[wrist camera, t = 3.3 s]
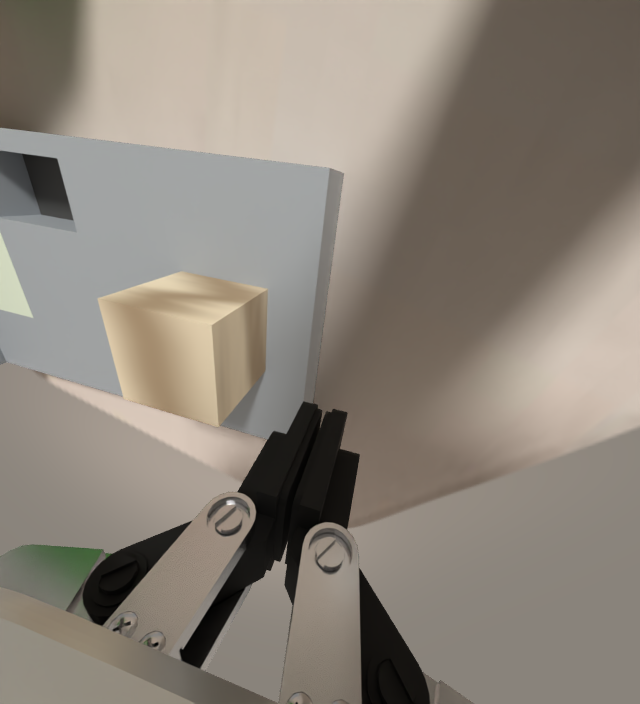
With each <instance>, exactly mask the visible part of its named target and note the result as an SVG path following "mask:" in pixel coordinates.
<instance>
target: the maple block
mask: <svg viewBox="0 0 640 704" xmlns="http://www.w3.org/2000/svg"><path fill="white" fill-rule="evenodd" d="M97 299H98V303H99V307H100V311H101V314H102V318H103V322H104V326H105V329H106V333H107V337H108V341H109V345H110V348H111V352H112V356H113V360H114V364H115V367H116V371H117V375H118V379H119V382H120V386H121V390H122V394H123V398H124V399H125V400H129V401H132V402H136V403H139V404H142V405H146V406H149V407H152V408H156V409H159V410H162V411H166V412H169V413H172V414H176V415H179V416H182V417H186V418H189V419H193V420H196V421H199V422H203V423H206V424H209V425H213V426H216V427H219V426H220V425H221V424H222V423H223V422H224V420H225V419H226V418H227V417H228V416H229V414H230V413H231V412H232V411H233V409H234V408H235V407H236V406H237V405H238V403H239V402H240V401H241V400H242V399H243V397H244V396H245V395H246V394H247V393H248V391H249V390H250V389H251V388H252V387H253V385H254V384H255V383H256V382H257V381H258V379H259V378H260V377H261V376H262V374H263V373H264V372H265V369H266V337H267V304H268V289H266V288H262V287H257V286H252V285H247V284H242V283H237V282H232V281H227V280H222V279H217V278H212V277H207V276H202V275H197V274H192V273H187V272H183V271H181V272H178V273H175V274H172V275H168V276H165V277H162V278H159V279H156V280H153V281H150V282H147V283H144V284H141V285H138V286H134V287H131V288H128V289H125V290H122V291H119V292H116V293H113V294H110V295H107V296H104V297H100V298H97Z"/></svg>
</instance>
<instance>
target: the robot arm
mask: <svg viewBox="0 0 640 704" xmlns="http://www.w3.org/2000/svg"><path fill="white" fill-rule="evenodd" d="M321 417H322V410H320V409H318V405H316V404H312V403H309V402H305V401H303V403H302V404H301V406H300V408H299V410H298V412H297V414H296V416H295V418H294V420H293V422H292V424H291V426H290V428H289V430H288V432H287V434H285V433H281V432H277V431H273V432H272V434H271V435H270V437H269V438H268V440H267V442H266V444H265V445H264V447H263V449H262V450H261V452H260V454H259V456H258V457H257V459H256V461H255V462H254V464H253V466H252V468H251V469H250V471H249V473H248V475H247V476H246V478H245V480H244V481H243V483H242V485H241V487H240V488H239V490H238V492H228V493H223V494H220V495H219V496H217V497H215V498H213V499H212V500H211V501H210V502H209V503H208V504H207V505H206V506H205V507H204V508H203V509H202V511H201V512H200V513H199V514H198V515H197V516H196V518H195V519H194V520H193V521H190V522H188V523H185V524H183V525H180V526H178V527H175V528H173V529H170V530H168V531H165V532H163V533H161V534H158V535H155V536H153V537H151V538H148V539H146V540H143V541H141V542H138V543H136V544H133V545H131V546H128V547H126V548H124V549H121V550H119V551H117V552H115V553H113V554H108V553H105V552H104V550H102V549H89V548H74V547H61V546H47V545H25V546H21V547H18V548H15V549H13V550H10V551H8V552H6V553H5V554H3V555H2V556H0V704H474V703H473V702H471V701H470V700H468V699H467V698H465V697H464V696H463V695H461V694H460V693H458V692H457V691H456V690H454V689H453V688H451V687H450V686H448V685H447V684H445V683H444V682H443V681H441V680H440V681H439V683H437V682H436V681H435V680H433V679H432V678H431V677H429V676H428V675H426V674H425V673H424V672H422V670H421V668H420V667H419V664H418V663H417V661H416V659H415V658H414V656H413V654H412V653H411V651H410V650H409V648H408V646H407V645H406V643H405V641H404V640H403V638H402V636H401V635H400V633H399V632H398V630H397V628H396V627H395V625H394V623H393V622H392V620H391V619H390V617H389V615H388V614H387V612H386V610H385V609H384V607H383V606H382V604H381V602H380V601H379V599H378V598H377V596H376V594H375V593H374V591H373V590H372V588H371V586H370V585H369V583H368V581H367V580H366V578H365V576H364V575H363V573H362V571H361V570H360V568H359V554H358V547H357V544H356V542H355V540H354V538H353V536H352V535H351V534H350V533H349V531H348V530H347V527H348V521H349V516H350V510H351V504H352V498H353V492H354V486H355V480H356V475H357V469H358V463H359V457H360V454H356V453H353V452H349V451H345V450H342V449H340V446H341V441H342V436H343V431H344V427H345V422H346V417H347V412H343V411H339V410H336V409H333V410H332V413H331V412H327V411H326V414H325V416H324V419H323V422H322V424H321V427H320V423H321ZM319 429H320V430H319ZM287 542H288V544H287ZM286 544H287V552H286V560H285V564H287V570H286V577H285V587H286V590H287V592H288V595H289V597H290V600H291V602H292V605H293V606H292V614H291V620H290V626H289V634H288V640H287V647H286V654H285V660H284V667H283V674H282V681H281V688H280V695H279V702H278V703H276V702H274V701H272V700H270V699H267V698H265V697H263V696H260V695H258V694H256V693H254V692H251V691H249V690H247V689H245V688H242V687H240V686H238V685H235V684H233V683H231V682H229V681H226V680H224V679H222V678H219V677H217V676H215V675H212V674H210V673H208V672H206V669H207V667H208V665H209V664H210V662H211V660H212V658H213V656H214V654H215V653H216V651H217V649H218V647H219V645H220V643H221V642H222V640H223V638H224V636H225V634H226V632H227V631H228V629H229V627H230V625H231V623H232V621H233V620H234V618H235V616H236V614H237V612H238V610H239V609H240V607H241V605H242V603H243V601H244V599H245V598H246V596H247V594H248V592H249V591H250V588H251V585H252V583H254V582H256V581H258V580H259V579H261V578H263V577H264V574H265V572H266V570H269V571H270V570H271V568H272V566H273V563H274V560H276V561H279V562H280V561H281V559H282V556H283V553H284V550H285V547H286Z"/></svg>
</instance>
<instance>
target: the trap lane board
mask: <svg viewBox="0 0 640 704" xmlns="http://www.w3.org/2000/svg"><path fill="white" fill-rule="evenodd" d="M343 176H344V173H342V172H339V171H336V170H334V169H331V168H326V167H317V166H309V165H301V164H293V163H285V162H277V161H268V160H260V159H252V158H244V157H236V156H227V155H219V154H211V153H203V152H195V151H187V150H178V149H170V148H162V147H154V146H146V145H137V144H129V143H121V142H113V141H105V140H97V139H88V138H80V137H72V136H64V135H56V134H47V133H39V132H31V131H23V130H15V129H7V128H0V365H1V364H3V363H6V362H8V363H12V364H15V365H18V366H22V367H25V368H28V369H32V370H35V371H38V372H42V373H45V374H49V375H52V376H55V377H59V378H62V379H65V380H69V381H72V382H76V383H79V384H82V385H86V386H89V387H92V388H96V389H99V390H102V391H106V392H109V393H113V394H116V395H119V396H123V394H122V390H121V386H120V382H119V379H118V375H117V371H116V367H115V364H114V360H113V356H112V352H111V348H110V345H109V341H108V337H107V333H106V329H105V326H104V322H103V318H102V314H101V311H100V307H99V303H98V299H97V298H100V297H104V296H107V295H110V294H113V293H116V292H119V291H122V290H125V289H128V288H131V287H134V286H138V285H141V284H144V283H147V282H150V281H153V280H156V279H159V278H162V277H165V276H168V275H172V274H175V273H178V272H181V271H183V272H187V273H192V274H197V275H202V276H207V277H212V278H217V279H222V280H227V281H232V282H237V283H242V284H247V285H252V286H257V287H262V288H266V289H268V304H267V337H266V369H265V372H264V373H263V374H262V376H261V377H260V378H259V379H258V381H257V382H256V383H255V384H254V385H253V387H252V388H251V389H250V390H249V391H248V393H247V394H246V395H245V396H244V397H243V399H242V400H241V401H240V402H239V403H238V405H237V406H236V407H235V408H234V409H233V411H232V412H231V413H230V414H229V416H228V417H227V418H226V419H225V420H224V422H223V423H222V424H221V425H220V426H224V427H227V428H230V429H234V430H237V431H241V432H244V433H247V434H251V435H254V436H257V437H261V438H264V439H267V440H268V438H269V437H270V435H271V434H272V432H273V431H277V432H281V433H285V434H287V432H288V430H289V428H290V426H291V424H292V422H293V420H294V418H295V416H296V414H297V412H298V410H299V408H300V406H301V404H302V403H303V401H305V402H309V403H312V404H313V400H314V393H315V385H316V378H317V370H318V363H319V355H320V348H321V340H322V333H323V325H324V318H325V310H326V303H327V295H328V288H329V280H330V273H331V265H332V258H333V250H334V243H335V235H336V228H337V221H338V213H339V206H340V198H341V191H342V183H343Z"/></svg>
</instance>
